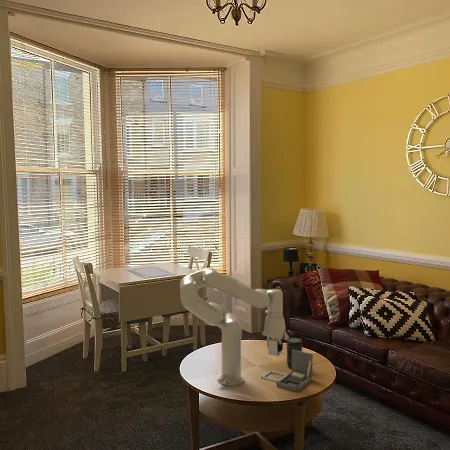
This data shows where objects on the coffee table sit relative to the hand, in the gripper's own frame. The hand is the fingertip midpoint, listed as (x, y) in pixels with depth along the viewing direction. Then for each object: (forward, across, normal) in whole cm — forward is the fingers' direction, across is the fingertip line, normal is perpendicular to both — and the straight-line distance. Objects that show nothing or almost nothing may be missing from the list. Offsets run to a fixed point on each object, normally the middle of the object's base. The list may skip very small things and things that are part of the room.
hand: (275, 349), depth 242 cm
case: (+15, +11, -2) cm, 19 cm away
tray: (+15, 0, 0) cm, 15 cm away
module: (+2, 0, 0) cm, 2 cm away
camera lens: (+15, +2, +17) cm, 23 cm away
